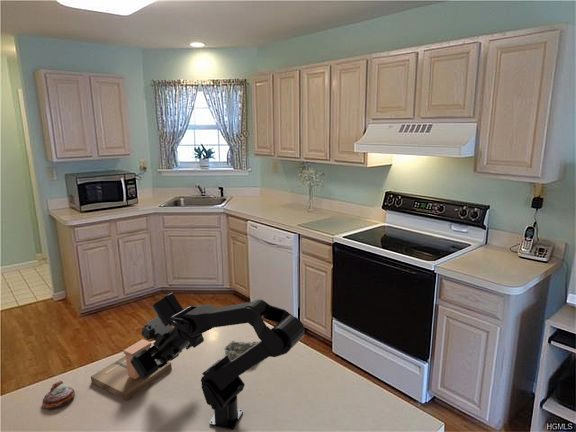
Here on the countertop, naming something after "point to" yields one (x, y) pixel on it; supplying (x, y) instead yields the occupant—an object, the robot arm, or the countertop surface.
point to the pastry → (58, 396)
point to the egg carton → (237, 348)
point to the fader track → (124, 379)
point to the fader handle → (132, 352)
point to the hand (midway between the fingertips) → (152, 363)
